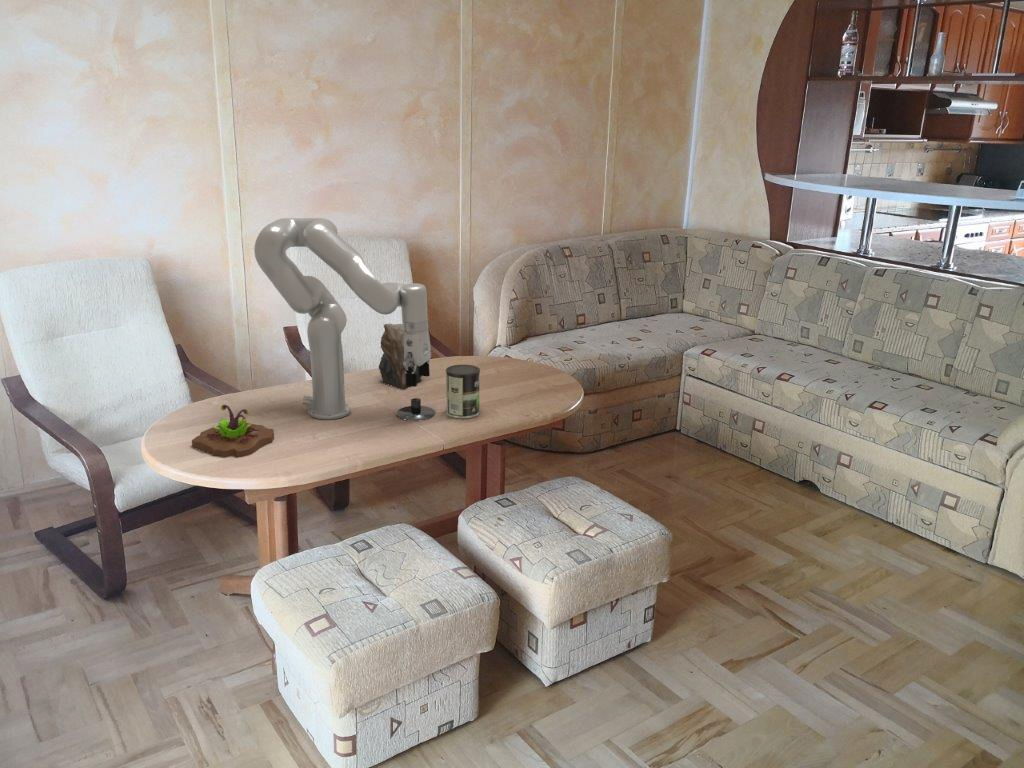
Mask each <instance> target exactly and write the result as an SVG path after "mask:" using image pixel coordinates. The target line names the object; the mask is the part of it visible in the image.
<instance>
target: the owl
mask: <svg viewBox="0 0 1024 768" xmlns="http://www.w3.org/2000/svg"><path fill="white" fill-rule="evenodd" d="M383 328H384V332H383V333H382V336H381V337H380V338H381V339H380V349H381V350H382V352H383V354H382V357H380V361H379V364H378V370H379V373H380V376H381V378H382V383H383V384H384V383H386V384H385V385H388V384H389V385H388V386H390V385H392V386H391V387H393V386H395V387H397V388H396V389H399V388H400V389H399V390H402V389H403V390H402V391H405V390H407V389H409V388H411V387H412V386H407V385H406V374H405V370H404V365H403V362H404V332H403V325H402V323H398V324H396V323H395V324H393V323H384V324H383ZM410 367H411V368H412V369H413V366H410ZM415 373H416V376H417V384H419V383H420V382H421V381H422V380H421V378H422V376H420V375H419V366H418V365H417V367H416V371H415ZM395 387H394V388H395ZM408 387H409V388H408ZM406 388H407V389H406Z"/></svg>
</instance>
